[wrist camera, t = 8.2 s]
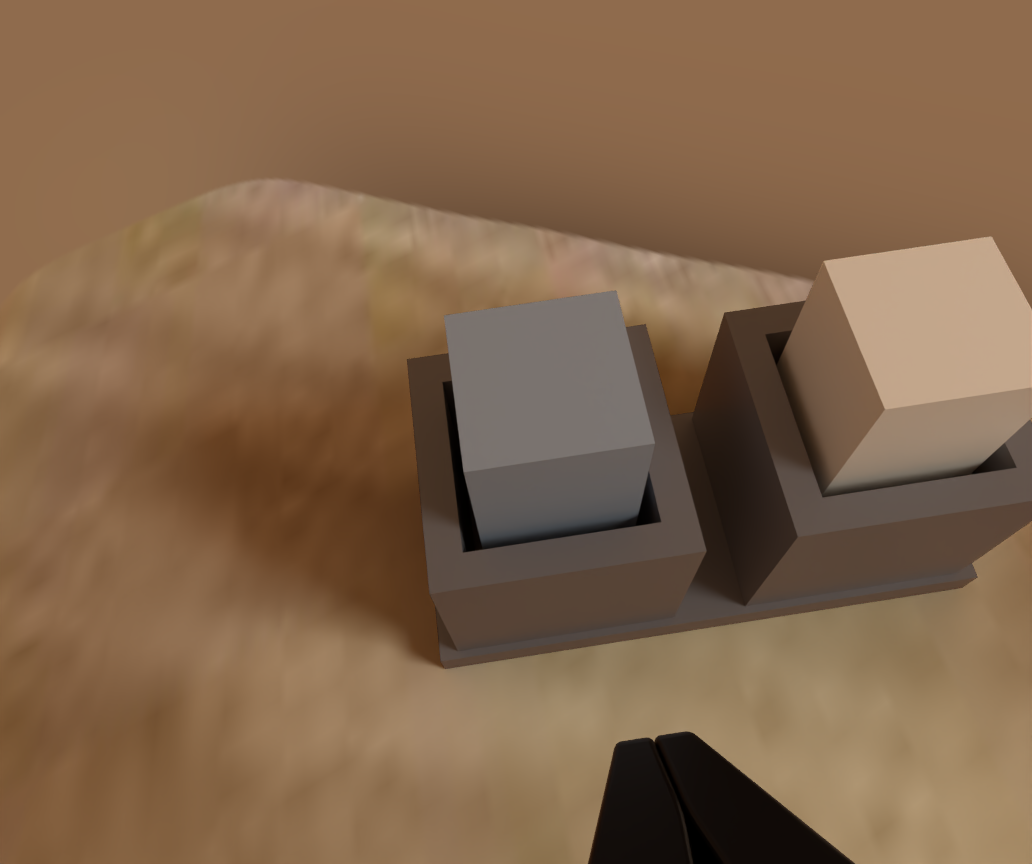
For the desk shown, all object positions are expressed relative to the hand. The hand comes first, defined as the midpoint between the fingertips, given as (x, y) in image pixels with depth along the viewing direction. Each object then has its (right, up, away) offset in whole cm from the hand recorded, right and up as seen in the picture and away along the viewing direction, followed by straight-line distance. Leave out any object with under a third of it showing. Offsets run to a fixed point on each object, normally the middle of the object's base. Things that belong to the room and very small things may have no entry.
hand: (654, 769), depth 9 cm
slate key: (-1, +2, +13) cm, 13 cm away
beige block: (+7, +3, +13) cm, 15 cm away
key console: (+3, +1, +16) cm, 16 cm away
